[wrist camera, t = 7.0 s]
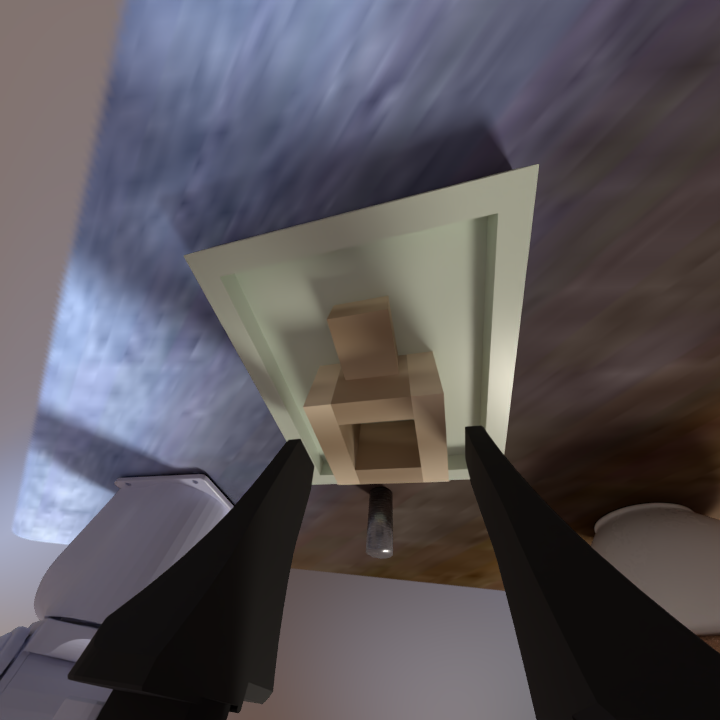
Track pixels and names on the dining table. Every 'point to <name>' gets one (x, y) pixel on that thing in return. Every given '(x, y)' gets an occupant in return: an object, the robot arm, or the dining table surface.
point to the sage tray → (406, 297)
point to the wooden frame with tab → (377, 403)
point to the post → (380, 524)
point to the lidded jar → (668, 560)
